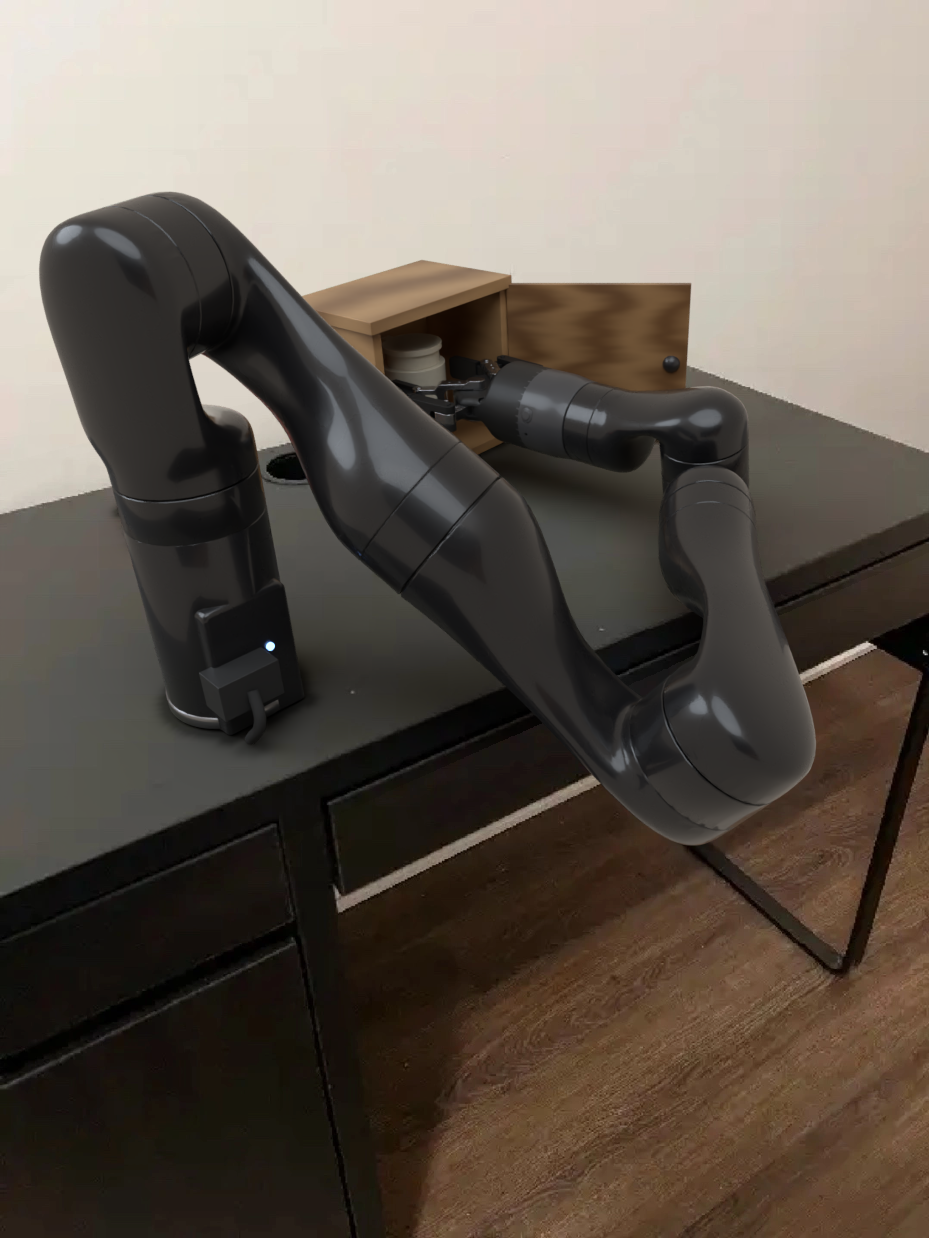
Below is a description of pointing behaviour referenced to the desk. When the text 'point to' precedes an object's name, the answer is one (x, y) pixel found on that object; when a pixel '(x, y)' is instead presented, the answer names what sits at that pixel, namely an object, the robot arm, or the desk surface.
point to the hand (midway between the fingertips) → (422, 377)
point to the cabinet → (519, 325)
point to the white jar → (414, 359)
